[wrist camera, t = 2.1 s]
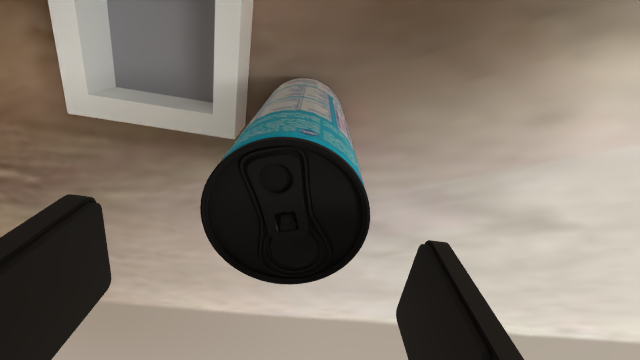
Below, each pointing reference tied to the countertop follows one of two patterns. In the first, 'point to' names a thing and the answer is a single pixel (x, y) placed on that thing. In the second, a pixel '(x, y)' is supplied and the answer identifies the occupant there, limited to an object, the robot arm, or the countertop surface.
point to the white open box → (156, 61)
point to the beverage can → (289, 190)
